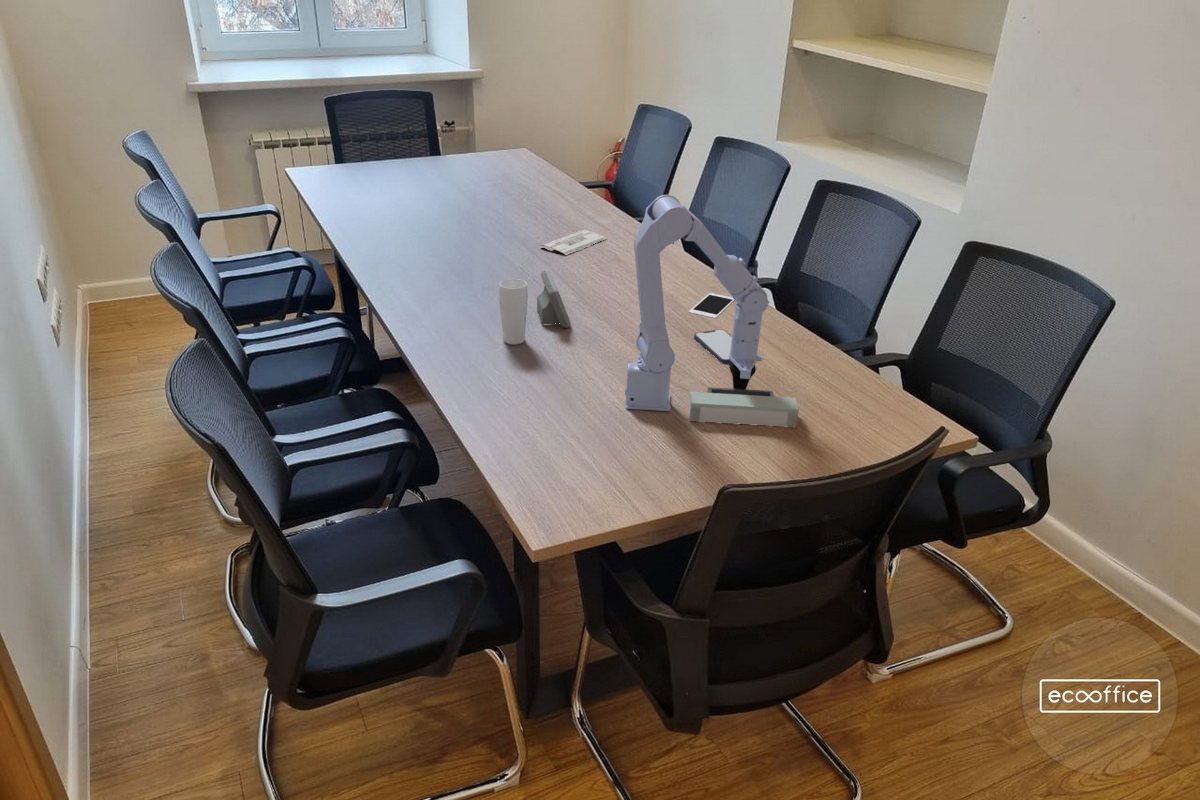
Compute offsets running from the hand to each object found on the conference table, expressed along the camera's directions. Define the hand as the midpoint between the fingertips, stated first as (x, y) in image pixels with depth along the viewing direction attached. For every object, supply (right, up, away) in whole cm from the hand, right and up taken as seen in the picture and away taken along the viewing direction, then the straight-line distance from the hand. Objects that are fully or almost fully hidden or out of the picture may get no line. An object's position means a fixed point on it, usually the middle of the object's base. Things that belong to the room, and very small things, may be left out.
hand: (738, 393), depth 191 cm
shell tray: (0, -3, -4) cm, 5 cm away
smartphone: (0, +11, +23) cm, 25 cm away
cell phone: (0, +24, +47) cm, 53 cm away
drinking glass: (-51, +13, +22) cm, 58 cm away
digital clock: (-42, +20, +36) cm, 59 cm away
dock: (-1, -5, -7) cm, 9 cm away
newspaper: (-40, +48, +89) cm, 109 cm away
